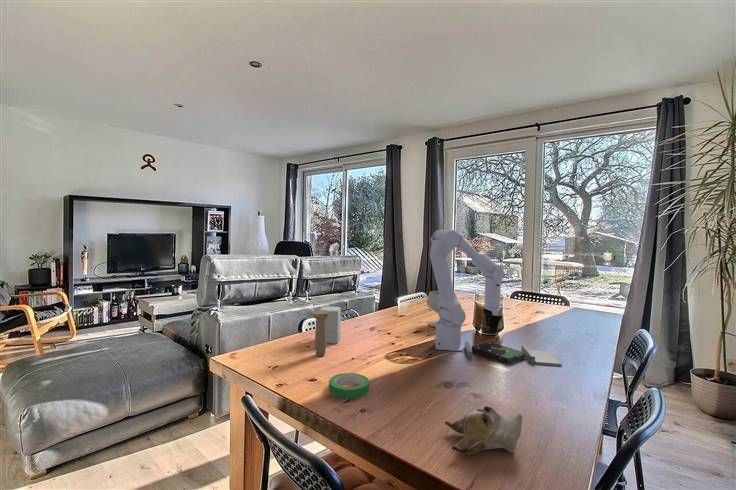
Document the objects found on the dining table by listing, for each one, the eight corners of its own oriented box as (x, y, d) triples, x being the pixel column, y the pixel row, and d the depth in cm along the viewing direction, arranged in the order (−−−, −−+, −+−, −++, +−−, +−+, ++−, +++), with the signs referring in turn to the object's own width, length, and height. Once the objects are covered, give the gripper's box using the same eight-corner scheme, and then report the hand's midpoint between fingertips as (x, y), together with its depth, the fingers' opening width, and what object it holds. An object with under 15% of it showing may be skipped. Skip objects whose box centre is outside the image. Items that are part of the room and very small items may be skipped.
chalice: (420, 326, 162) (421, 293, 162) (433, 319, 174) (434, 289, 173) (450, 331, 154) (451, 297, 154) (461, 324, 166) (462, 292, 165)
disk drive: (471, 353, 130) (508, 366, 118) (471, 346, 129) (508, 358, 118) (488, 348, 136) (525, 359, 124) (488, 341, 136) (525, 351, 124)
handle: (332, 354, 124) (332, 311, 124) (318, 359, 120) (318, 315, 119) (322, 351, 128) (323, 309, 127) (308, 355, 123) (309, 312, 122)
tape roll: (347, 377, 106) (348, 369, 106) (377, 389, 99) (377, 379, 99) (320, 390, 98) (320, 381, 98) (350, 404, 91) (350, 393, 91)
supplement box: (341, 338, 143) (341, 306, 142) (337, 344, 135) (338, 311, 135) (322, 337, 144) (323, 305, 143) (318, 343, 136) (318, 310, 136)
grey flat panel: (468, 359, 123) (468, 351, 122) (464, 347, 134) (465, 340, 134) (561, 366, 118) (561, 358, 118) (549, 353, 130) (549, 346, 130)
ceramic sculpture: (531, 420, 68) (450, 420, 69) (532, 465, 68) (452, 464, 69) (513, 394, 78) (443, 395, 79) (514, 433, 78) (444, 433, 80)
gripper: (507, 299, 132) (506, 335, 133) (499, 292, 146) (498, 324, 147) (487, 298, 133) (486, 334, 134) (481, 291, 147) (480, 323, 148)
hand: (491, 329), depth 140 cm, fingers open, 7 cm apart
